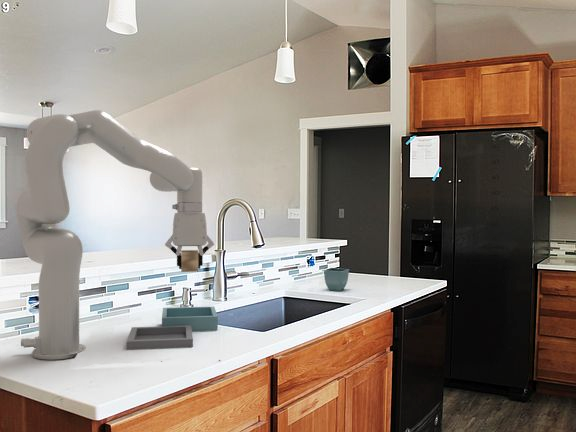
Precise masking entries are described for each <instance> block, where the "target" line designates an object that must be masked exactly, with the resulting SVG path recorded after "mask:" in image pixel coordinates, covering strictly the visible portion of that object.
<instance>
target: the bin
mask: <svg viewBox="0 0 576 432" xmlns="http://www.w3.org/2000/svg"><path fill="white" fill-rule="evenodd" d="M193 347H194V336H193V331H192V328H191V325H187V326H162V325H161V326H131V329H130V332H129V335H128V338H127V341H126V350H127V351H128V350H145V349H147V350H149V349H150V350H151V349H173V348H176V349H178V348H193Z"/></svg>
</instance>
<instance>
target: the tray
mask: <svg viewBox="0 0 576 432" xmlns="http://www.w3.org/2000/svg"><path fill="white" fill-rule="evenodd" d="M218 320H219V318H218V314H217V311H216V308H215V306H183V307H181V306H180V307H179V306H178V307H162V314H161V326H187V325H191V328H192V332H206V331H218V330H219V329H218Z"/></svg>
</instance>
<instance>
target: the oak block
mask: <svg viewBox="0 0 576 432" xmlns="http://www.w3.org/2000/svg"><path fill="white" fill-rule="evenodd" d="M180 253H181V269H180V271H181V273H190V272H192V273H193V272H194V273H197V272H199V268H198V253H199V250H198V249H192V250H191V249H190V250H189V249H187V250H185V249H181V252H180Z"/></svg>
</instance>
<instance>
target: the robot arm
mask: <svg viewBox="0 0 576 432" xmlns="http://www.w3.org/2000/svg"><path fill="white" fill-rule="evenodd" d="M26 139H27V141H28V142H29V144H28V147H27V150H26V152H25V156H24V170H25V177H26V184H27V188H25V189H24V190H23V191H21V192H20V193H19V195H18V197H17V199H16V204H15V213H16V218H17V224H18V229H19V234H20V238H21V243H22V247H23V249H24V252H25V255H26V256H27V257H28V258H29V259H30V260H31V261H32V262H34V263H38V264H41V268H40V273H39V277H38V336H34V338H26V337H25V338H21V340H20V346H21V347H23V348H34V349H33V350H32V353H31V354H32V357H33V358H35V359H39V360H46V361H47V360H48V361H50V360H53V361H54V360H65V359H71V358H75V357H76V356H77V355H78V354H79V353H82V352H84V351H85V350H86V347H87V346H86V345H85V344H81V343H80V272H81V265H82V260H83V252H84V251H83V244H82V240H81V239H80V237H79V236H78V234H76V233H75V232H73V231H72V230H69V229H65V228H59V227H58V226H57V224H60V223H61V222H63V221H65V220H66V219H67V218H68V216H69V214H70V202H69V197H68V191H67V187H66V182H65V177H64V169H63V168H64V167H63V161H64V157H65V155H66V153H67V151H68V149H69V148H71V147H77V146H82V145H89V144H95V145H96V146H97V147H99V148H101V149H102V150H103V151H105V152H106V153H107V154H109V155H110V156H112V157H113V158H114V159H116V160H117V161H118V162H120V163H121V164H123V165H126V166H128V167H131V168H133V169H134V168H135V169H140V170H144V171H147V172H150V175H149V183H150V185H151V186H152V188H153V189H155V190H156V191H158V192H166V193H167V192H168V193H169V192H170V193H171V192H176V194H177V195H176V201H177V203H174V204H172V206H171V209H172V210H176V211H177V212H174V215H173V223H172V235H171V236H170V237H169V238H168V239H167V241H166V242H165V244H164V246H165V247H166V248H168V249H169V250H170V251H172V253H174V254H175V255H176V267H178V268H179V270H181V250H183V249H182V248H183V247H197V250H198V270H200V269H201V266H203V259H204V257H203V256H204V254H206V252H208V251H209V249H211V248H213V246H215V243H214V241H213V240H212V239H211V238H210V236H209V235H208V231H207V230H208V229H207V220H206V214H205V212H203V172H202V169H200V168H199V167H189V166H188V165H187V164H186V163H185V162H183V161H182V160H180V159H179V158H178V157H177V156H175V155H174V154H173V153H170V152H169V151H167V150H165V149H163V148H161V147H159V146H157V145H154V144H152V143H150V142H148V141H146V140H144V139H142V138H141V137H139V136H138V135H137V134H135V133H134V132H133V131H131V130H130V129H129V128H127V127H126V125H123V124H122V123H121V122H120V121H118V120H117V119H115V118H114V117H113V116H112V115H110V113H108V112H106V111H103V110H99V109H95V110H90V111H85V112H79V113H73V114H68V115H67V114H63V113H62V114H61V113H59V114H52V115H48V116H44V117H39V118H35V119H34V120H32V121H31V122H30V123H29V124H28V126H27V129H26ZM172 244H173V245H172ZM206 244H207V245H206ZM175 246H176V247H177V248H176V247H175ZM203 246H204V247H203Z"/></svg>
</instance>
